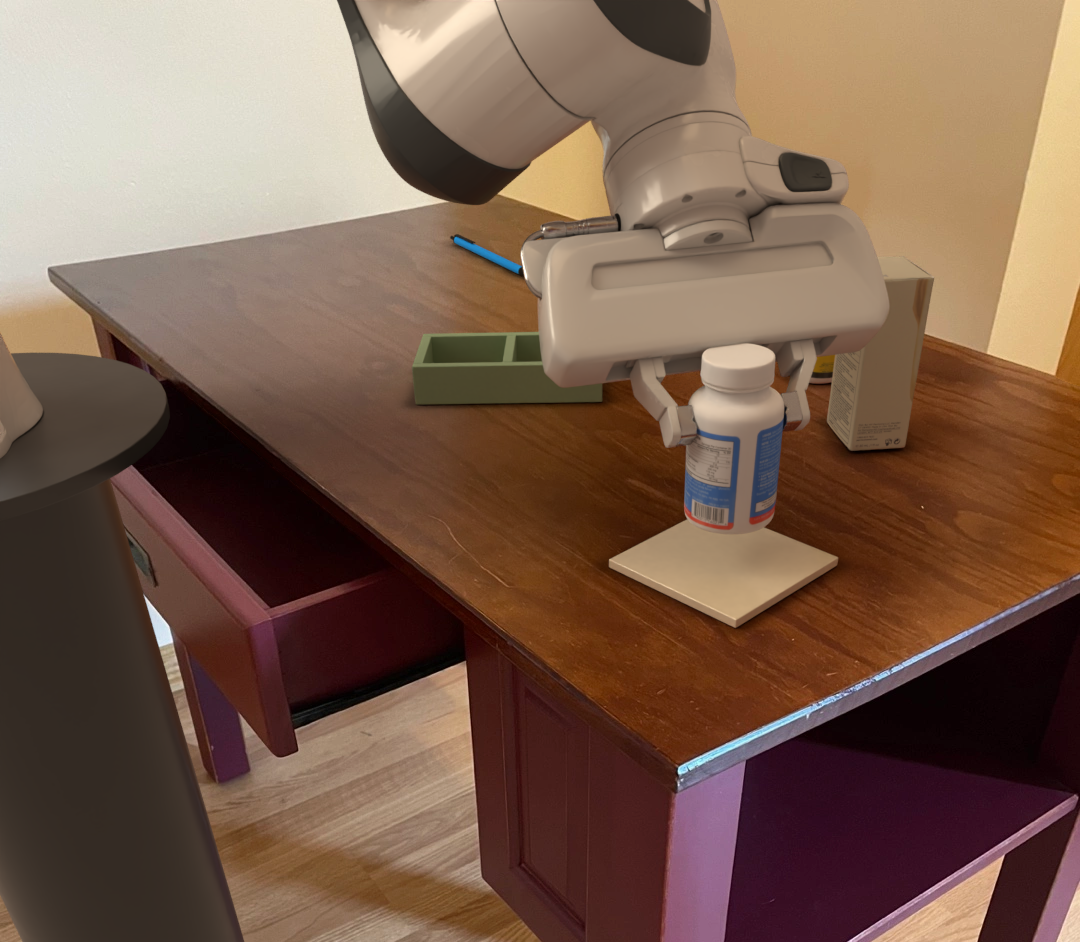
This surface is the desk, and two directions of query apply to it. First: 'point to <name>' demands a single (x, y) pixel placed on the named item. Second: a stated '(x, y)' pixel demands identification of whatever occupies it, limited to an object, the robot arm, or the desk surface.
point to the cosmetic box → (883, 366)
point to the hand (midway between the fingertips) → (739, 435)
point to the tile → (723, 569)
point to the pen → (486, 254)
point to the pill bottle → (734, 441)
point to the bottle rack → (488, 371)
